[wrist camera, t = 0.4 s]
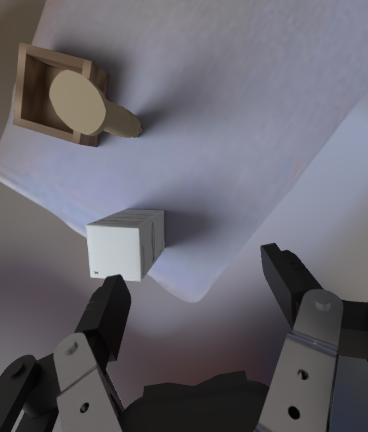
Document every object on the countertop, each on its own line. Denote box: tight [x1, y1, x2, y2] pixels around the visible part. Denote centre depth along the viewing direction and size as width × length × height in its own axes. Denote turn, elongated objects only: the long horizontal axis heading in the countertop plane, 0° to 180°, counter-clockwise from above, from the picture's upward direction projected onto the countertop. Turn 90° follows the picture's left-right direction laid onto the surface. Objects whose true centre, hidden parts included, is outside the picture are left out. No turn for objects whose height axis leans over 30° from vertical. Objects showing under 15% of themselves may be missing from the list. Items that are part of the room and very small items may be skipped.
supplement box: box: [86, 209, 165, 281], centre depth 34 cm, size 7×7×13 cm
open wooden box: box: [13, 42, 109, 147], centre depth 35 cm, size 11×11×5 cm
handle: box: [49, 70, 143, 138], centre depth 30 cm, size 5×6×15 cm
